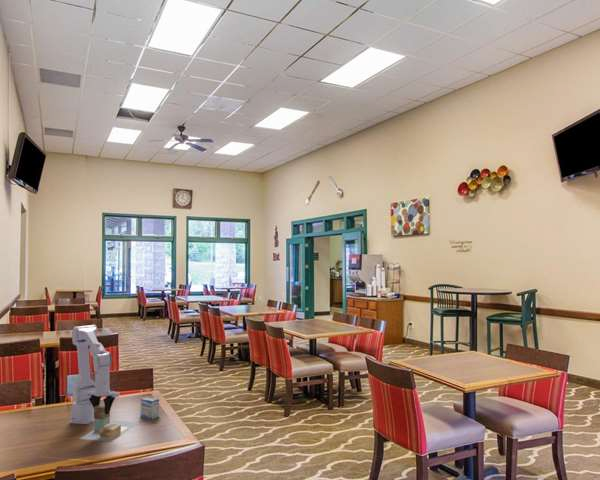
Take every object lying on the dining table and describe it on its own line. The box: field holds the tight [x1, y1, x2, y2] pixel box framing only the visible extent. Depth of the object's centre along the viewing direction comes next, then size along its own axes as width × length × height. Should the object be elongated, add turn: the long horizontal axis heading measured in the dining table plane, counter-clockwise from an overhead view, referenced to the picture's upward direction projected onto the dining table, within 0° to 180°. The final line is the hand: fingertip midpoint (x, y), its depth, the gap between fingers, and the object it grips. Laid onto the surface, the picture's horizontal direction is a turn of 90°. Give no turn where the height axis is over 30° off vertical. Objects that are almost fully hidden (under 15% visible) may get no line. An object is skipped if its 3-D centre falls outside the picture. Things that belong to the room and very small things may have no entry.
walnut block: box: [94, 403, 111, 420], centre depth 199 cm, size 4×4×5 cm
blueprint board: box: [79, 419, 140, 442], centre depth 203 cm, size 15×22×1 cm
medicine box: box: [140, 396, 160, 420], centre depth 220 cm, size 8×4×9 cm, turn 62°
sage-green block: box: [93, 416, 111, 431], centre depth 205 cm, size 4×4×5 cm
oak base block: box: [100, 424, 121, 438], centre depth 197 cm, size 6×6×4 cm
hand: (102, 413), depth 199 cm, fingers closed on walnut block, 4 cm apart
